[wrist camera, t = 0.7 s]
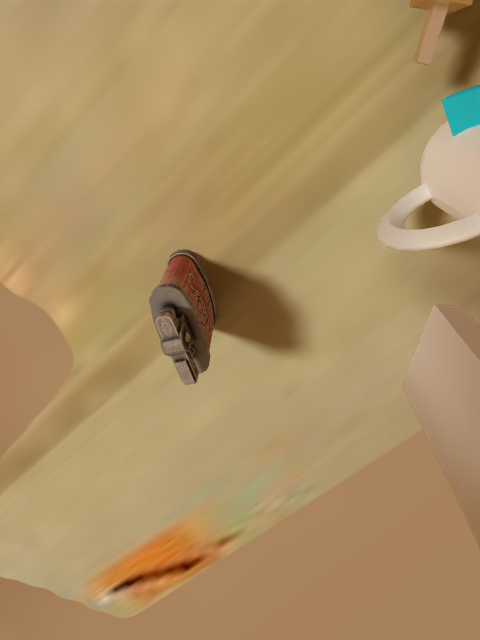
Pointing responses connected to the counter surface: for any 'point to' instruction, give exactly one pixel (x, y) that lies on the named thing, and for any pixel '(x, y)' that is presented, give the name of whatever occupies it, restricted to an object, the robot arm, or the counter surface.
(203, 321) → the lighter
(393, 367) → the counter surface
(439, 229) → the mug
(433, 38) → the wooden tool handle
